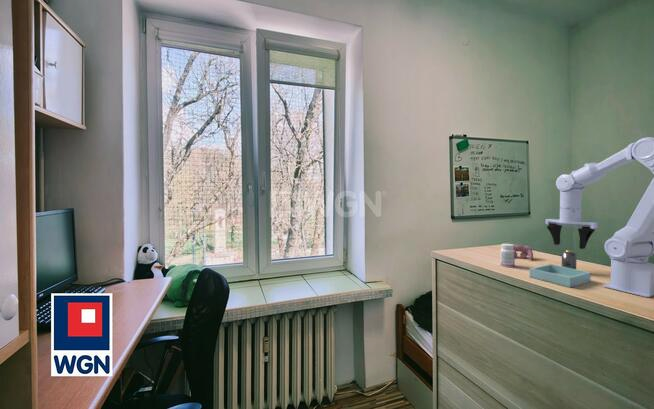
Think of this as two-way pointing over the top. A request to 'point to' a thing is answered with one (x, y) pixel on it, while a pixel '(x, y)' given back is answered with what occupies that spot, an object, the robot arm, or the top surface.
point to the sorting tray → (560, 275)
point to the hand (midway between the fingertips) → (569, 246)
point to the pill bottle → (507, 255)
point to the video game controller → (523, 251)
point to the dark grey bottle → (569, 259)
